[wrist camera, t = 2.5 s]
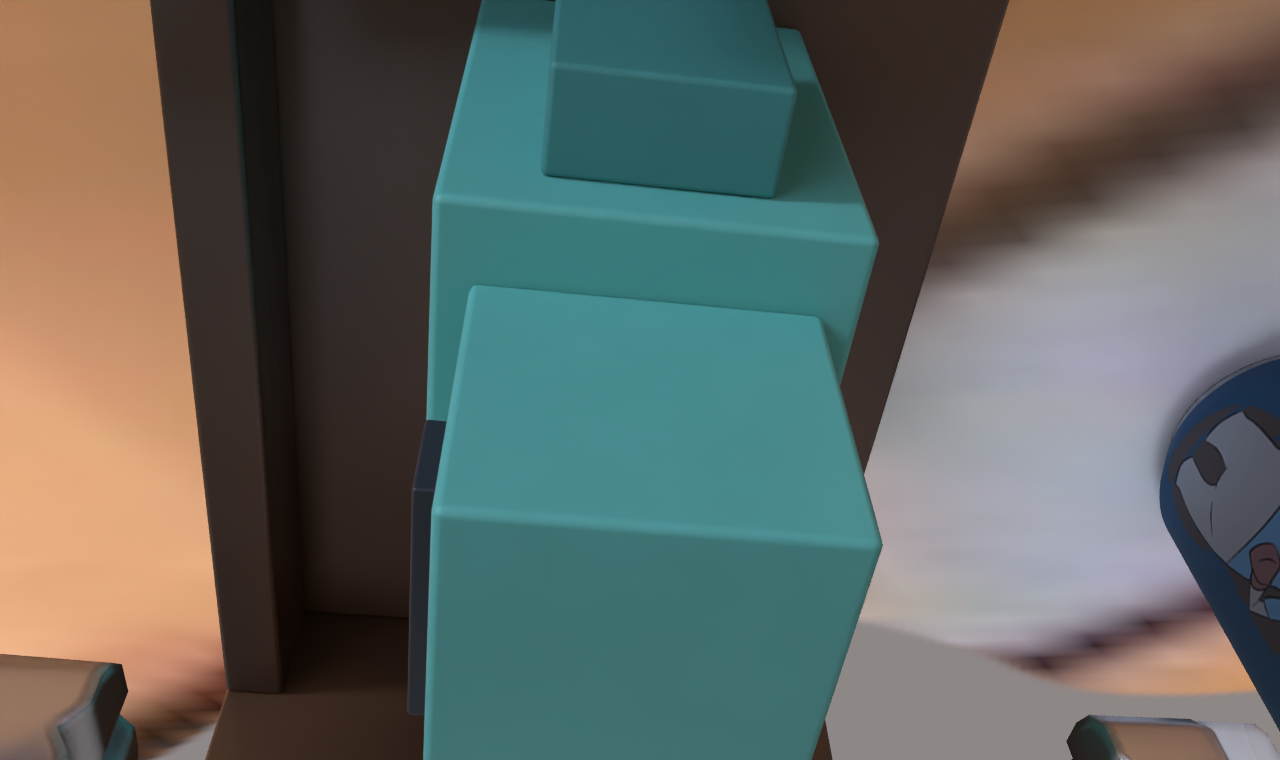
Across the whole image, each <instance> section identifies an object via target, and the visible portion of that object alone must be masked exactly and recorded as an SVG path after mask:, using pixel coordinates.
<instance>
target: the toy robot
mask: <svg viewBox="0 0 1280 760" xmlns="http://www.w3.org/2000/svg"><path fill="white" fill-rule="evenodd" d="M878 246H879V241H878V237H877V234H876V231H875V229H874V226H873V223H872V221H871V218H870V216H869V213H868V210H867V208H866V205H865V202H864V200H863V197H862V194H861V192H860V189H859V187H858V184H857V181H856V179H855V176H854V173H853V171H852V168H851V165H850V163H849V160H848V158H847V155H846V152H845V150H844V147H843V144H842V142H841V139H840V136H839V134H838V131H837V129H836V126H835V123H834V121H833V118H832V115H831V113H830V110H829V107H828V105H827V102H826V100H825V97H824V94H823V92H822V89H821V86H820V84H819V81H818V78H817V76H816V73H815V71H814V68H813V65H812V63H811V60H810V57H809V55H808V52H807V49H806V47H805V44H804V42H803V39H802V36H801V34H800V32H799V31H797V30H795V29H787V28H778V27H776V26H775V23H774V20H773V17H772V14H771V11H770V8H769V5H768V2H767V0H556V2H555V1H546V0H482V2H481V6H480V10H479V14H478V18H477V22H476V26H475V30H474V34H473V38H472V42H471V46H470V50H469V54H468V58H467V62H466V66H465V70H464V74H463V78H462V82H461V87H460V91H459V95H458V99H457V103H456V107H455V111H454V115H453V119H452V123H451V127H450V131H449V135H448V139H447V143H446V147H445V151H444V155H443V159H442V163H441V167H440V172H439V176H438V180H437V184H436V188H435V192H434V196H433V203H432V238H431V274H430V309H429V344H428V379H427V415H426V422H425V425H424V430H423V435H422V440H421V445H420V450H419V455H418V460H417V466H416V471H415V476H414V481H413V486H412V505H411V554H410V603H409V652H408V701H407V711H408V714H410V715H425V719H424V749H423V760H812V757H813V754H814V751H815V748H816V745H817V742H818V739H819V736H820V733H821V730H822V727H823V724H824V721H825V718H826V715H827V712H828V708H829V705H830V703H831V699H832V696H833V694H834V691H835V688H836V684H837V681H838V678H839V675H840V672H841V669H842V666H843V663H844V660H845V657H846V654H847V651H848V648H849V645H850V642H851V639H852V636H853V633H854V630H855V627H856V624H857V621H858V618H859V615H860V612H861V609H862V606H863V603H864V600H865V597H866V594H867V591H868V588H869V585H870V582H871V579H872V576H873V573H874V570H875V567H876V564H877V561H878V558H879V555H880V552H881V549H882V546H883V544H882V539H881V536H880V532H879V528H878V525H877V521H876V517H875V514H874V510H873V506H872V503H871V499H870V495H869V491H868V488H867V484H866V480H865V477H864V473H863V469H862V466H861V462H860V458H859V455H858V451H857V447H856V444H855V440H854V436H853V433H852V429H851V425H850V422H849V418H848V414H847V410H846V407H845V403H844V399H843V396H842V392H841V388H840V384H841V380H842V377H843V373H844V370H845V366H846V362H847V359H848V355H849V351H850V348H851V344H852V341H853V337H854V333H855V330H856V326H857V322H858V319H859V315H860V311H861V308H862V304H863V301H864V297H865V293H866V290H867V286H868V282H869V279H870V275H871V271H872V268H873V264H874V261H875V257H876V253H877V250H878Z"/></svg>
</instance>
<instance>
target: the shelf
mask: <svg viewBox="0 0 1280 760" xmlns="http://www.w3.org/2000/svg"><path fill="white" fill-rule="evenodd" d="M546 1H555V2H556V0H546ZM481 2H482V0H150V6H151V15H152V24H153V33H154V42H155V51H156V60H157V69H158V78H159V87H160V96H161V105H162V114H163V123H164V131H165V140H166V149H167V158H168V167H169V176H170V185H171V194H172V203H173V212H174V221H175V230H176V239H177V248H178V257H179V266H180V275H181V284H182V292H183V301H184V310H185V319H186V328H187V337H188V346H189V355H190V364H191V373H192V382H193V391H194V400H195V409H196V418H197V427H198V436H199V445H200V453H201V462H202V471H203V480H204V489H205V498H206V507H207V516H208V525H209V534H210V543H211V552H212V561H213V570H214V579H215V588H216V597H217V606H218V614H219V623H220V632H221V641H222V650H223V659H224V668H225V677H226V686H227V693H226V696H225V699H224V702H223V705H222V708H221V711H220V715H219V718H218V721H217V724H216V727H215V730H214V733H213V737H212V740H211V743H210V746H209V749H208V752H207V756H206V759H205V760H423V749H424V719H425V715H410V714H408V711H407V701H408V652H409V603H410V554H411V505H412V486H413V481H414V476H415V471H416V466H417V460H418V455H419V450H420V445H421V440H422V435H423V430H424V425H425V422H426V415H427V379H428V344H429V309H430V274H431V238H432V203H433V196H434V192H435V188H436V184H437V180H438V176H439V172H440V167H441V163H442V159H443V155H444V151H445V147H446V143H447V139H448V135H449V131H450V127H451V123H452V119H453V115H454V111H455V107H456V103H457V99H458V95H459V91H460V87H461V82H462V78H463V74H464V70H465V66H466V62H467V58H468V54H469V50H470V46H471V42H472V38H473V34H474V30H475V26H476V22H477V18H478V14H479V10H480V6H481ZM767 2H768V5H769V8H770V11H771V14H772V17H773V20H774V23H775V26H776V27H778V28H787V29H795V30H797V31H799V32H800V34H801V36H802V39H803V42H804V44H805V47H806V49H807V52H808V55H809V57H810V60H811V63H812V65H813V68H814V71H815V73H816V76H817V78H818V81H819V84H820V86H821V89H822V92H823V94H824V97H825V100H826V102H827V105H828V107H829V110H830V113H831V115H832V118H833V121H834V123H835V126H836V129H837V131H838V134H839V136H840V139H841V142H842V144H843V147H844V150H845V152H846V155H847V158H848V160H849V163H850V165H851V168H852V171H853V173H854V176H855V179H856V181H857V184H858V187H859V189H860V192H861V194H862V197H863V200H864V202H865V205H866V208H867V210H868V213H869V216H870V218H871V221H872V223H873V226H874V229H875V231H876V234H877V237H878V241H879V246H878V250H877V253H876V257H875V261H874V264H873V268H872V271H871V275H870V279H869V282H868V286H867V290H866V293H865V297H864V301H863V304H862V308H861V311H860V315H859V319H858V322H857V326H856V330H855V333H854V337H853V341H852V344H851V348H850V351H849V355H848V359H847V362H846V366H845V370H844V373H843V377H842V380H841V384H840V388H841V392H842V396H843V399H844V403H845V407H846V410H847V414H848V418H849V422H850V425H851V429H852V433H853V436H854V440H855V444H856V447H857V451H858V455H859V458H860V462H861V466H862V469H863V473H865V470H866V467H867V463H868V460H869V457H870V453H871V450H872V447H873V444H874V440H875V437H876V434H877V431H878V427H879V424H880V421H881V418H882V414H883V411H884V408H885V404H886V401H887V398H888V395H889V391H890V388H891V385H892V382H893V378H894V375H895V372H896V368H897V365H898V362H899V359H900V355H901V352H902V349H903V346H904V342H905V339H906V336H907V333H908V329H909V326H910V323H911V319H912V316H913V313H914V310H915V306H916V303H917V300H918V297H919V293H920V290H921V287H922V283H923V280H924V277H925V274H926V270H927V267H928V264H929V261H930V257H931V254H932V251H933V248H934V244H935V241H936V238H937V234H938V231H939V228H940V225H941V221H942V218H943V215H944V212H945V208H946V205H947V202H948V198H949V195H950V192H951V189H952V185H953V182H954V179H955V176H956V172H957V169H958V166H959V162H960V159H961V156H962V153H963V149H964V146H965V143H966V140H967V136H968V133H969V130H970V127H971V123H972V120H973V117H974V113H975V110H976V107H977V104H978V100H979V97H980V94H981V91H982V87H983V84H984V81H985V77H986V74H987V71H988V68H989V64H990V61H991V58H992V55H993V51H994V48H995V45H996V42H997V38H998V35H999V32H1000V28H1001V25H1002V22H1003V19H1004V15H1005V12H1006V9H1007V6H1008V2H1009V0H767ZM812 760H832V755H831V749H830V744H829V738H828V733H827V727H826V722H825V721H824V724H823V727H822V730H821V733H820V736H819V739H818V742H817V745H816V748H815V751H814V754H813V757H812Z"/></svg>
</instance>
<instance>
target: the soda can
mask: <svg viewBox="0 0 1280 760" xmlns="http://www.w3.org/2000/svg"><path fill="white" fill-rule="evenodd" d="M1160 508H1161V513H1162V517H1163V520H1164V523H1165V525H1166V527H1167V529H1168V531H1169V533H1170V535H1171V537H1172V539H1173V540H1174V542H1175V544H1176V546H1177V548H1178V549H1179V551H1180V553H1181V555H1182V557H1183V558H1184V560H1185V562H1186V564H1187V566H1188V567H1189V569H1190V571H1191V573H1192V575H1193V576H1194V578H1195V580H1196V582H1197V584H1198V585H1199V587H1200V589H1201V591H1202V593H1203V594H1204V596H1205V598H1206V600H1207V601H1208V603H1209V605H1210V607H1211V609H1212V610H1213V612H1214V614H1215V616H1216V618H1217V619H1218V621H1219V623H1220V625H1221V627H1222V628H1223V630H1224V632H1225V634H1226V636H1227V637H1228V639H1229V641H1230V643H1231V645H1232V646H1233V648H1234V650H1235V652H1236V654H1237V655H1238V657H1239V659H1240V661H1241V663H1242V664H1243V666H1244V668H1245V670H1246V672H1247V673H1248V675H1249V677H1250V679H1251V681H1252V682H1253V684H1254V686H1255V688H1256V690H1257V691H1258V693H1259V695H1260V696H1261V699H1262V700H1263V702H1264V704H1265V706H1266V707H1267V709H1268V711H1269V713H1270V715H1271V716H1272V718H1273V720H1274V722H1275V723H1276V725H1277V727H1278V729H1279V731H1280V356H1276V357H1272V358H1268V359H1265V360H1262V361H1259V362H1256V363H1254V364H1251V365H1249V366H1247V367H1244V368H1242V369H1240V370H1238V371H1236V372H1234V373H1233V374H1231V375H1229V376H1228V377H1226V378H1224V379H1223V380H1221V381H1220V382H1218V383H1217V384H1216V385H1214V386H1213V387H1211V388H1210V389H1209V390H1208V391H1207V392H1205V393H1204V394H1203V395H1202V396H1201V397H1200V398H1199V399H1198V400H1197V401H1196V402H1195V403H1194V404H1193V405H1192V406H1191V407H1190V409H1189V410H1188V411H1187V412H1186V414H1185V415H1184V417H1183V418H1182V419H1181V421H1180V423H1179V424H1178V426H1177V428H1176V430H1175V432H1174V435H1173V437H1172V440H1171V443H1170V446H1169V450H1168V453H1167V456H1166V460H1165V464H1164V468H1163V472H1162V477H1161V483H1160Z"/></svg>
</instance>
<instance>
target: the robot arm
mask: <svg viewBox="0 0 1280 760" xmlns="http://www.w3.org/2000/svg"><path fill="white" fill-rule="evenodd" d="M127 693H128V689H127V684H126V680H125V676H124V672H123V667H122V664H116V663H106V662H94V661H82V660H69V659H57V658H45V657H32V656H20V655H7V654H0V760H138V744H137V738H136V732H135V727H134V726H133V725H132V724H130V723H129V722H128V721H127V720H126V719H124V718H123V717H122V716H121V715H120V711H121V709H122V706H123V704H124V701H125V698H126V696H127ZM1067 744H1068V746H1069V749H1070V752H1071V755H1072V757H1073V759H1072V760H1280V755H1279V753H1278V751H1277V749H1276V747H1275V746H1274V744H1273V743H1272V740H1271V739H1270V737H1269V736H1268V735H1267V734H1266V733H1265V732H1264V731H1263V730H1262V729H1261V728H1259V727H1258V726H1257V725H1256V724H1248V723H1231V722H1229V723H1228V722H1213V721H1212V722H1211V721H1193V720H1191V719H1175V718H1151V717H1127V716H1102V715H1088V716H1087V717H1085V718H1083V719H1082V720H1080V721H1078V722H1077V723H1076V725H1075V726H1074V728H1073V730H1072V732H1071V734H1070V736H1069V737H1068V739H1067Z"/></svg>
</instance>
